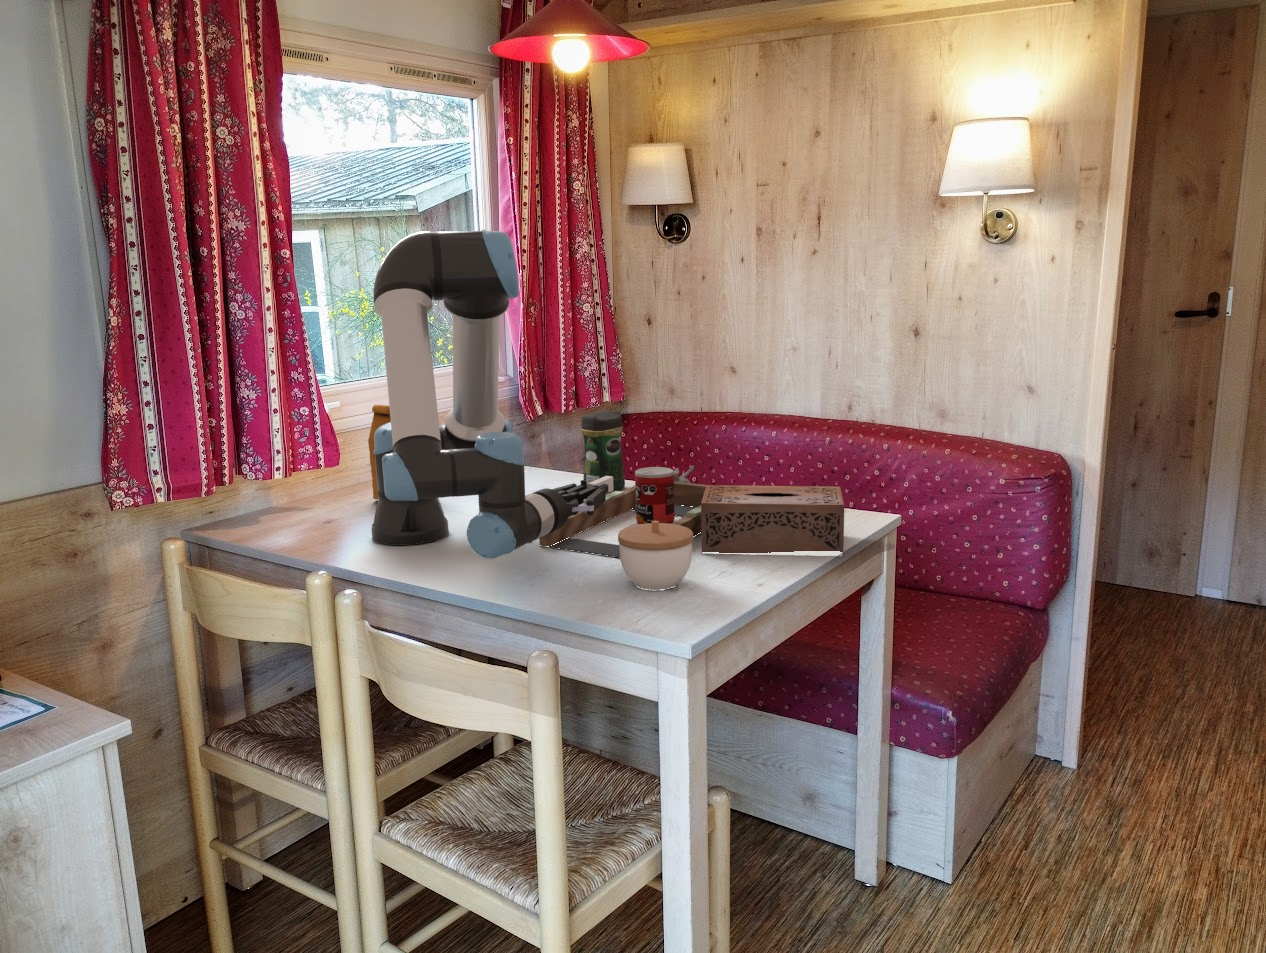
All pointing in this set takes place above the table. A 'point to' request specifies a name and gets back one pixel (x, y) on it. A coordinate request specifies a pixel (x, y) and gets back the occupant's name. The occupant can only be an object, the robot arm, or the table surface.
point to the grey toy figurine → (682, 477)
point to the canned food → (654, 495)
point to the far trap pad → (679, 510)
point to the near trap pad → (589, 547)
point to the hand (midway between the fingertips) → (609, 483)
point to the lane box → (625, 501)
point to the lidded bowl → (655, 554)
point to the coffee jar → (603, 447)
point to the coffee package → (379, 419)
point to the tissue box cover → (771, 519)
